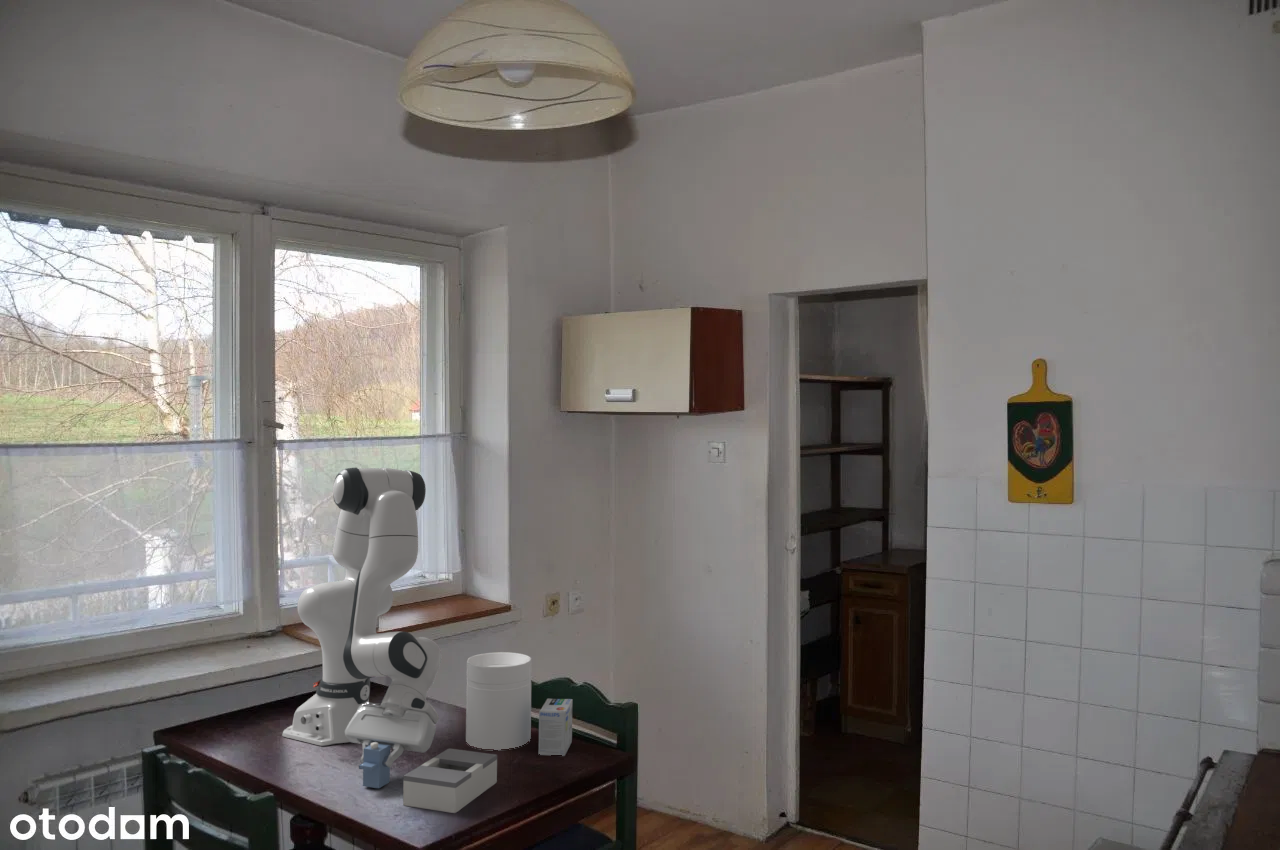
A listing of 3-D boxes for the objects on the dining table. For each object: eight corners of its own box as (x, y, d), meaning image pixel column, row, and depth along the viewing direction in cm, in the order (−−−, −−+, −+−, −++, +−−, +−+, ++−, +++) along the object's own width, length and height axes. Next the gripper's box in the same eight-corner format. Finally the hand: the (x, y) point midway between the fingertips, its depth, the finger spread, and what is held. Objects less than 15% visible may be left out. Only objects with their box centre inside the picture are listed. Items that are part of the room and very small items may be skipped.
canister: (493, 726, 244) (494, 649, 244) (543, 736, 236) (544, 657, 236) (452, 743, 230) (453, 661, 230) (503, 754, 222) (504, 670, 222)
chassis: (403, 805, 191) (403, 775, 191) (448, 775, 208) (448, 748, 208) (455, 813, 187) (455, 783, 187) (496, 782, 204) (497, 754, 204)
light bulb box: (546, 741, 232) (546, 697, 233) (572, 742, 232) (573, 698, 232) (537, 755, 222) (538, 709, 222) (565, 756, 221) (566, 710, 221)
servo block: (356, 789, 198) (357, 747, 198) (379, 775, 206) (380, 735, 206) (372, 792, 196) (373, 749, 197) (395, 778, 205) (396, 737, 205)
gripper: (356, 694, 211) (328, 751, 202) (435, 704, 205) (410, 763, 195) (367, 708, 215) (340, 765, 206) (445, 718, 209) (421, 777, 199)
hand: (375, 764), depth 201 cm, fingers closed on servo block, 4 cm apart
